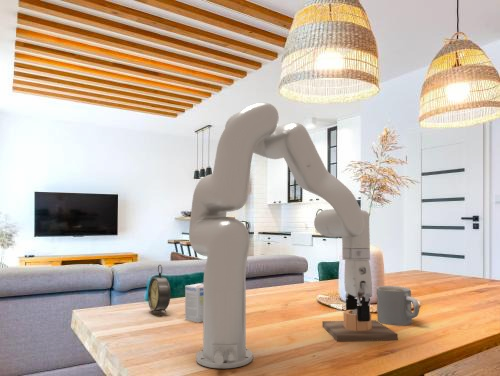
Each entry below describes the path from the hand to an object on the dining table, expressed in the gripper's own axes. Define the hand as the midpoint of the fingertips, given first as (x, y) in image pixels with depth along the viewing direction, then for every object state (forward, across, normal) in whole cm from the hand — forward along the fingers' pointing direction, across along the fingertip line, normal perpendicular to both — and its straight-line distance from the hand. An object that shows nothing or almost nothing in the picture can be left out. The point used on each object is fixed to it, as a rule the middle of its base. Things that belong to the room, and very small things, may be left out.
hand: (357, 316), depth 114 cm
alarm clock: (+5, +29, +58) cm, 65 cm away
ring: (+3, 0, 0) cm, 3 cm away
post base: (+4, 0, 0) cm, 4 cm away
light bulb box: (+5, +21, +43) cm, 48 cm away
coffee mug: (+4, +10, -16) cm, 19 cm away
